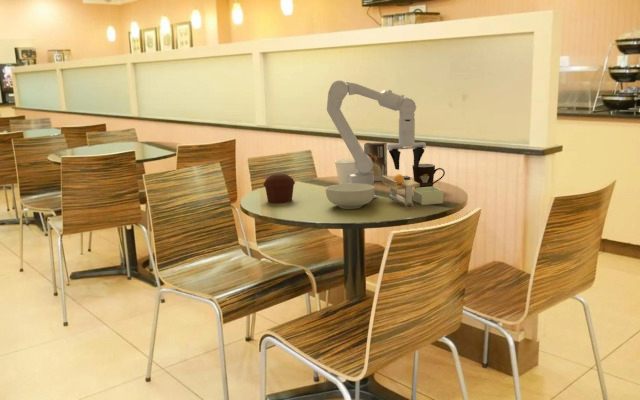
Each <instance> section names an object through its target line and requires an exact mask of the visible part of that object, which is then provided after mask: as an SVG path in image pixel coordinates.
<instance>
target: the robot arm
mask: <svg viewBox="0 0 640 400" xmlns="http://www.w3.org/2000/svg"><path fill="white" fill-rule="evenodd" d="M347 95H348V96H354V95H359V96H361V97H364V98H365V97H366V98H369V99H371V100H374V101H376V102H377V103H378V105H379V106H380V107H384V108H386V109H390V110H392V111H394V112H395V111H396V112H397V111H399V113H398V114H399V119H398V143H392V144H389V143H388V144H387V151H388V153H389V155H390V157H391V159H392V162H393V166H394V169H395V170H397V171H398V170H400V159H401V158H400V157H401V153H402V152H401V151H399V150H411V149H412V153H413V154H412V155H413V165H414V168H418V166H419V164H420V162H421V159H422V156H423V154H424V153H425V149H426V147H427V145H426V144H427V143H426V142H424V141H423V142H415V139H416V138H415V137H416V136H415V135H416V134H415V132H416V131H415V130H416V129H415V128H416V123H415V121H416V119H415V114H416V113H415V112H416V110H417V106H416V102H415V100H413V99H412V98H409V97H405V95H403V94H401V95H400V94H397V93H394V92H393V90H390V89H387V90H382V91H380V92H379V91H377V90H374V89H371V88H369V87H367V86H364V85H362V84H361V85H360V84H358V83H355V82H349V81H348V82H345V81H343V80H335V81H333V82H332V83H331V85H330V88H329V90H328V91H327V104H326V111H327V114H328V115H329V117H330V118H331V121H332V123H333V124H334V126H335V128H336V129H337V132H339V135H340V137H341V138H342V140H343V142H344V144H345V145H346V147H347V149H348V151H349V153H350V154H351V157H352V159H354V160H355V165H356V169H357V170H356V171H355V172H354V174H352V175H349V176H348V183H359V184H369V185H373V186H374V187H375V181H374V172H373V171H372V169H373V162H372V160H371V158H370V157H369V156H368V155H367V154H365V152H364V148H363V147H362V146H361V144H360V142H359V140H358V139H357V138H358V137H356V135H355V133H354V131H353V129H352V127H351V126H350V124H349V123H348V120H347V118H346V117H345V115H344V114H343V112H342V110H341V108H342V103H343V100H345V98H346V96H347ZM377 198H379V197H378V196H377V195H376V194H374V197H373V199H377Z"/></svg>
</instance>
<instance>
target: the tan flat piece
mask: <svg viewBox="0 0 640 400" xmlns="http://www.w3.org/2000/svg"><path fill="white" fill-rule="evenodd" d="M402 176H403V177H404V182H403V183H402V184H400V185H397V182H396V181H394V179H390V177H389V176H387V177H386V176H382V181H381V182H382V184H383V185H385V186H387V187H388V188H392V189H394V190H397V191H398V190H405V186H407V185H411V186H412V188H415V187H419V186H420V183H418V182H415V181H414V179H411V176H408V175H402Z"/></svg>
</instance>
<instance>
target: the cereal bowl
mask: <svg viewBox="0 0 640 400" xmlns="http://www.w3.org/2000/svg"><path fill="white" fill-rule="evenodd" d="M375 190H376V189H375V185H374V186H373V185H369V184H359V183H348V184H339V183H338V184H333V185H328V186H326V187H325V194H326V195H325V196H326V199H327V200H328V201H329V203H331V204H333V205H335V206H338V207H339V208H340V209H343V210H355V209H361V208H362V207H363V206H365V205H367V204H369V203H370V202H371V201H372V200H373V199H374V198H373V197H374V195H375Z"/></svg>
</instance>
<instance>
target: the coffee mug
mask: <svg viewBox="0 0 640 400" xmlns="http://www.w3.org/2000/svg"><path fill="white" fill-rule="evenodd" d="M411 166H412V175H413V181H415V182H418V183H420V186H419V187H414V189H415V188H420V187H434V185H435V184H436V183H437V182H439V181H440V180H442V178H443V177H444V176H445V175H446V172H445V169H443V168H442V167H437V168H436V164H433V163H419V166H418V168H414V164H412V165H411ZM438 170H441V171H442V172H443V174H442V176H441V177H439V178H438V179H436V180H435V181H434V177H435V174H436V172H437V171H438Z"/></svg>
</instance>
